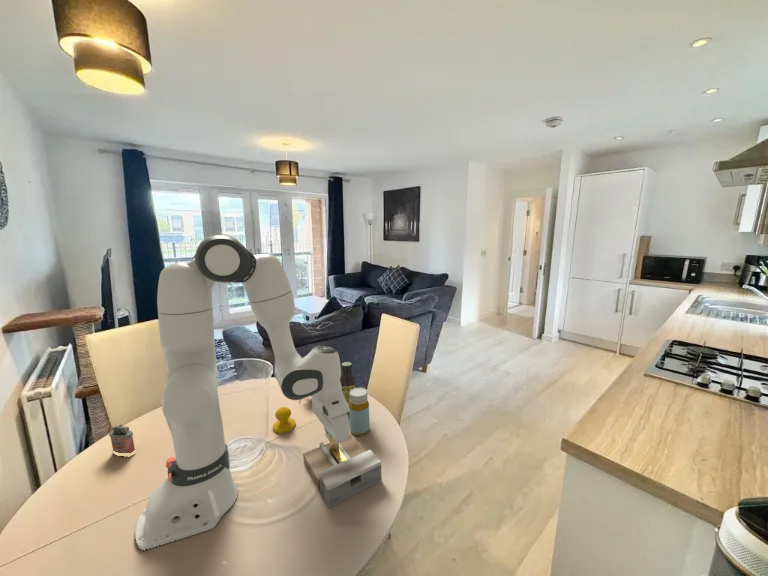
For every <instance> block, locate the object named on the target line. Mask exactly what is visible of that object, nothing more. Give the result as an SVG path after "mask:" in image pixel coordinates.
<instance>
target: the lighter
mask: <svg viewBox="0 0 768 576" xmlns="http://www.w3.org/2000/svg"><path fill="white" fill-rule="evenodd" d="M111 429H112V430H111V431H109V433H108V436H109V437H110V443H111V447H112V452H113V451H115V452H118V453H131V452H133V451H134V450H136V448H135V442H134V437H133V435H134V433H133V431H131V430H130V427H129V426H127V425H123V424H121V423H120V424H118V425H117V424H114V425H112V426H111Z"/></svg>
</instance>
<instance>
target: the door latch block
mask: <svg viewBox="0 0 768 576" xmlns="http://www.w3.org/2000/svg"><path fill="white" fill-rule="evenodd" d="M329 448H330V442H328V443H326V444H324V442H323V441H321V442H319V446H318V447H317V448H314V449H311V450H309V451H307V452H304V453H303V454H302V457H303V463H304V465H305V467H306V469H307V471H308V473H309V474H310V476H311V478H312V480H313V481H314V483H315V485H316V488H317V489H318V491H320V494H321V496H322V498H323V500H324V502H325V504H326V505H327V507H328V509H331V508H333V507H335V506H336V505H339V504H340V503H343V502H344V501H346V500H348V499H351V498H352V497H354V496H356V495H358V494H359V493H362V492H363V491H365V490H367V489H369V488H371V487H374V486H375V485H377V484H379V483H381V482H382V479H383V478H382V461H381V460H380V459H379V457H378V456H377V455H376V454H375V453H374V452H373V451H372V450H371V449H368V450H365V451H364V450H363V448H362V447H361V446H360V445H359V444H358V442H357V441H356V440H355V439H354V438H353V436H351V435H350V434H349V437H348V438H347V439H346V440H344V441H341V442H339V449H340V451H341V452H342V453H343V454H344V456H345V457H346V458H347V460H346V461H343V462H341V463H339V464H337V462H336V461H335V459H334V458H333V457H332V455H331V454H330V452H329Z"/></svg>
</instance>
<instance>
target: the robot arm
mask: <svg viewBox="0 0 768 576" xmlns="http://www.w3.org/2000/svg"><path fill="white" fill-rule="evenodd" d="M157 283H158V285H157V296H156V297H157V299H156V301H157V302H156V303H157V305H156V306H157V316H158V326H159V327H158V328H159V338H160V346H161V348H162V351H163V356H164V359H165V364H166V371H167V372H166V373H167V374H166V375H167V376H166V382H165V385H164V388H163V391H162V393H161V409H162V414H163V416H164V417H165V420H166V424H167V426H168V428H169V431H170V434H171V437H172V442H173V443H172V444H173V448H174V450H173V451H174V456H175V457H174V456H170V457H168V458H167V460H166V461H165V467H166V469H167V478H166V479H164V480H163V481H162V482H161V483H160V484H159V485H158V486H157V487H156V488H155V489H154V490H153V491H152V492H151V493H150V496H149V498H148V501H147V504H146V506H145V508H144V509H143V511H142V512H141V514H140V515H139V517H138V519H137V521H136V526H135V531H134V533H135V535H134V536H135V539H136V541H135V544H136V543H137V545H138V547H139V548H141V549H142V550H144V549H148V550H150V549H149V548H151V549H154V548H157V547H160V546H159V545H161V546H162V545H163V544H164V545H166V543H167V544H169V542H170V543H172V542H176V541H179V540H182V539H185V538H188V537H191V536H193V535H197V534H200V533H203V532H206V531H210V530H212V529H214V528H215V527H216V526H217V525H218V523H219V522H220V520H221V519H222V517H223V516H224V514H226V513H227V512H228V510H230V508H231V507H232V506H233V505H234V504H235V502H236V500H237V499H238V494H239V489H238V486H237V484H236V483H235V481H234V479H233V476H232V472H231V469H230V465H231V464H230V463H231V462H230V461H231V460H230V453H229V448H228V445H227V443H226V438H225V432H224V422H223V418H222V413H221V408H220V407H221V406H220V401H219V393H218V392H219V391H218V365H217V364H218V363H217V353H216V340H215V328H214V327H215V324H214V323H215V322H214V314H213V313H214V311H213V310H214V309H213V296H212V293H213V288H214V285H215V284H216V283H222V284H223V283H227V284H229V283H233V284H234V283H238V284H241V285H242V286H243V287H244V290H245V293H246V296H247V298H248V303H249V306H250V308H251V310H252V312H253V315H254V316H255V318H256V320H257V323H259V325H260V326H261V327H263V329H264V330H265V331H266V333H267V335H268V339H269V341H270V344H271V347H272V352H273V354H274V355H273V357H274V358H273V364H272V373H273V377H274V378H275V379H276V381H277V383H278V385H279V386H278V387H280V389H281V393H282V394H283V396H284V397H285V398H287V399H288V400H292V401H300V400H303V399H306V398H308V397H311V401H312V402H311V404H312V405H311V407H312V412H313V414H314V415H315V417H316V418H317V419H318V421H319V422H320V423H321V424H322V425H323V429H324V432H325V437H326V439H327V440H328V441H329V442H330V435H331V436H332V437H333V438H334V439H335V441H336V442H337V443H339V442H341V441H344V440H346V439H347V438H348V437H349V435H350V417H349V414H347V412H349V405H348V403H347V402H346V400H345V398H344V395H343V392H342V385H341V383H340V378H341V376H342V367H341V361H340V356H339V352H338V351H337V349H335V348H333V347H331V346H328V345H316V346H315V347H312V349H311V350H310V351H309V352H308V353H307V354H306V355H305V356H303V355H301V354H300V353H299V351H297V349H296V347H295V344H294V340H293V336H292V332H291V329H290V328H291V327H290V323H291V321H292V320H293V319H294V317H295V315H296V314H295V313H296V306H295V299H294V294H293V290H292V287H291V284H290V281H289V278H288V276H287V273H286V272H285V269H284V266H283V265H282V263H281V261H280V259H279V258H278V257H277V256H276V255H273V254H270V253H259V254H253V253H251V252H250V250H249V249H247V248H246V246H244V244H242V243H241V242H240V241H239V239H236V238H235V237H233V236H232V235H229V234H224V233H216V234H212V235H210V236H209V235H208V236H207V237H206V238H205V237H204V239H203V240H201V242H200V243H199V244H198V246H197V248H196V251H195V254H194V255H193V257H192V259H191V260H190V261H185V262H184V261H183V262H176V263H172V264H169V265H167V266H166V267H164V268H163V269H162V270H161V271H160V273H159V278H158V282H157ZM311 395H313V396H311ZM144 514H145V515H144ZM142 538H144V539H143V540H142V541H140V540H141V539H142ZM135 539H134V540H135ZM175 540H176V541H175ZM137 545H136V546H137ZM156 546H157V547H156ZM138 547H137V548H138ZM153 547H154V548H153ZM139 548H138V549H139ZM142 550H141V551H142ZM144 551H145V550H144Z"/></svg>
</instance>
